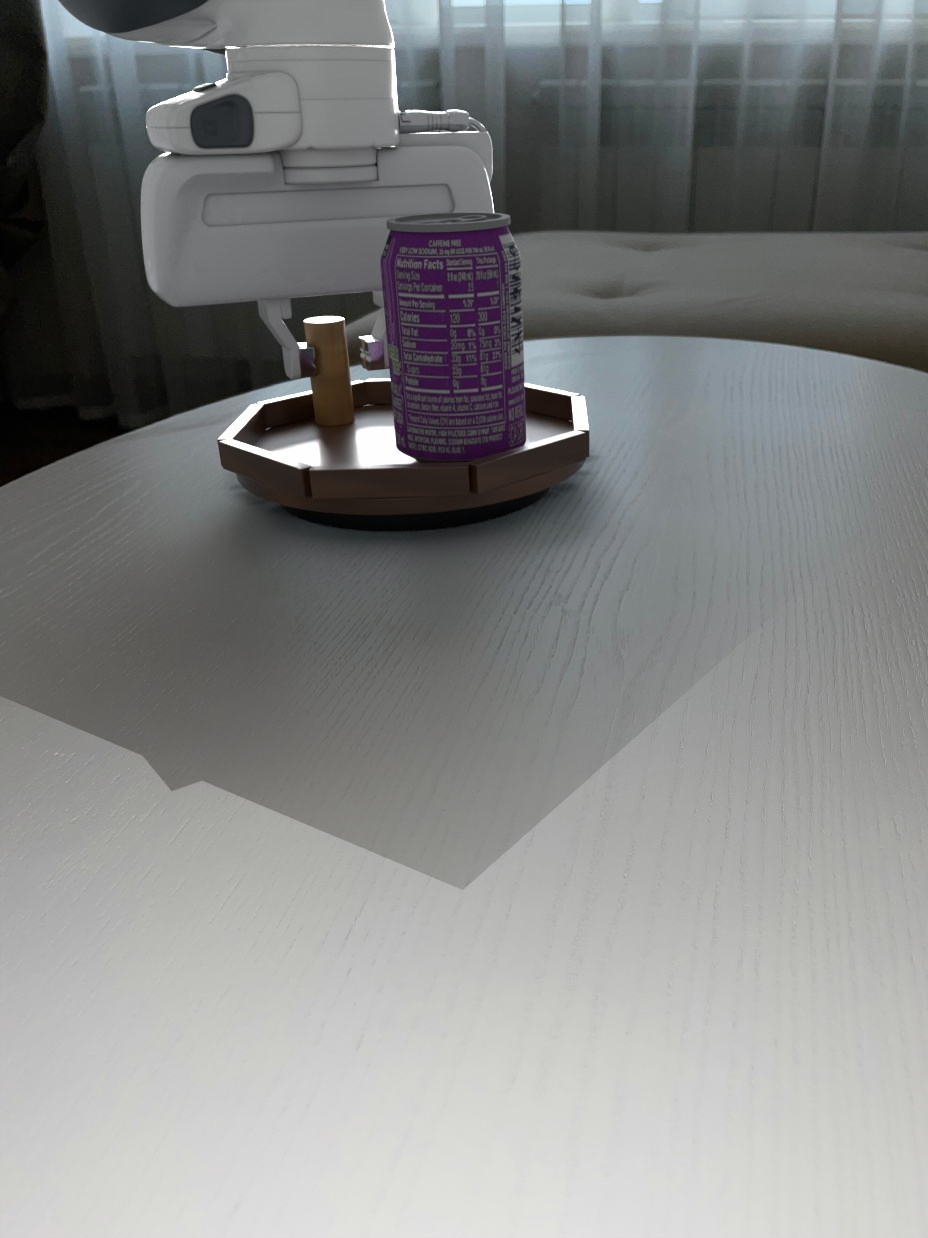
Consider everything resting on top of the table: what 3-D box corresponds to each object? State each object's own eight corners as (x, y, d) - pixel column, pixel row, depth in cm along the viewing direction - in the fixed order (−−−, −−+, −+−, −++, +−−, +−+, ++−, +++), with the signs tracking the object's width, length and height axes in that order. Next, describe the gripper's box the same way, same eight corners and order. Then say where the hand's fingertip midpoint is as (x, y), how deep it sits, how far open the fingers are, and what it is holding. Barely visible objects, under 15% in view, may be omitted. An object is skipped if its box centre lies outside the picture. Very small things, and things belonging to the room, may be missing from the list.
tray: (659, 452, 63) (662, 326, 60) (381, 545, 51) (367, 395, 48) (434, 399, 76) (427, 293, 72) (170, 464, 64) (147, 341, 60)
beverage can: (487, 432, 65) (476, 208, 59) (551, 460, 59) (546, 217, 53) (376, 452, 61) (353, 218, 56) (433, 484, 56) (414, 228, 50)
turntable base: (232, 481, 66) (228, 456, 65) (457, 433, 74) (455, 411, 73) (359, 555, 54) (356, 526, 54) (609, 489, 62) (609, 463, 62)
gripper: (468, 108, 66) (475, 346, 73) (113, 114, 58) (158, 380, 65) (514, 109, 61) (517, 364, 68) (133, 115, 53) (179, 403, 60)
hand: (339, 372), depth 66 cm, fingers open, 3 cm apart
